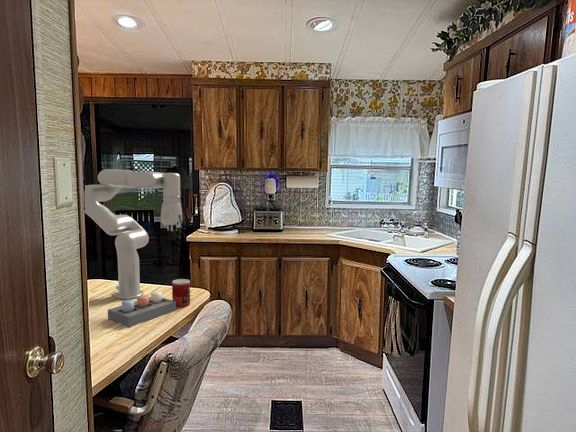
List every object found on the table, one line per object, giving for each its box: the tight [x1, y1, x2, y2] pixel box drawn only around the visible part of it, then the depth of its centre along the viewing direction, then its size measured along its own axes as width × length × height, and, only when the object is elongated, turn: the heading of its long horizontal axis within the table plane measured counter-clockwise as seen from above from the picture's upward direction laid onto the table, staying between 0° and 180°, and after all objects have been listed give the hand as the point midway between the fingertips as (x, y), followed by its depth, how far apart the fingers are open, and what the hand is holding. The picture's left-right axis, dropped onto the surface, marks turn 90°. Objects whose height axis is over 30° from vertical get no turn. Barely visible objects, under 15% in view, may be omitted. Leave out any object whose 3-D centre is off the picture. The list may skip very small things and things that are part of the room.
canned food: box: [171, 278, 191, 308], centre depth 174 cm, size 8×8×11 cm
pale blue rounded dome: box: [121, 299, 135, 314], centre depth 155 cm, size 5×5×4 cm
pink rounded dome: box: [136, 294, 150, 309], centre depth 160 cm, size 5×5×4 cm
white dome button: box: [150, 290, 163, 304], centre depth 166 cm, size 5×5×4 cm
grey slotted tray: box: [107, 296, 177, 328], centre depth 161 cm, size 14×23×4 cm, turn 147°
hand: (172, 239), depth 177 cm, fingers closed
